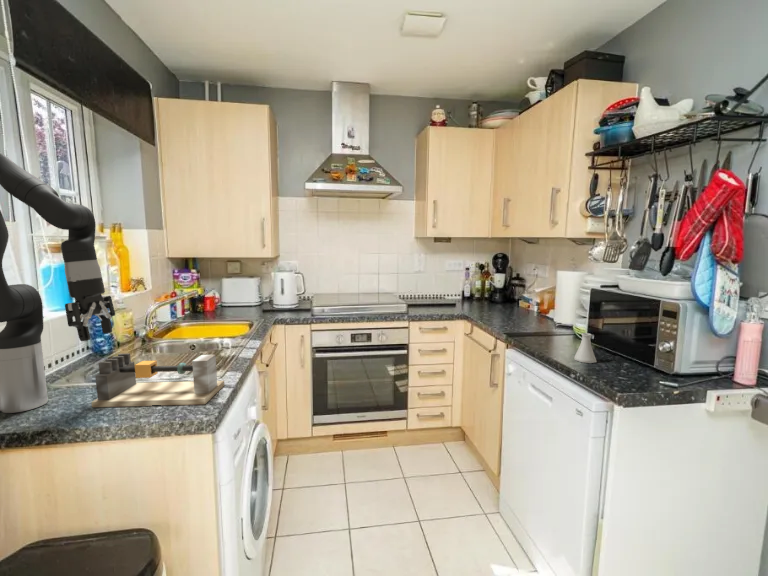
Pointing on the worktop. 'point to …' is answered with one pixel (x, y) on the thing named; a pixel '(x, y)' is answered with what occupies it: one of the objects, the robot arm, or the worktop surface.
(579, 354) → the flask
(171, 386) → the cord board
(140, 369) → the sleeve
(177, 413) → the worktop surface
